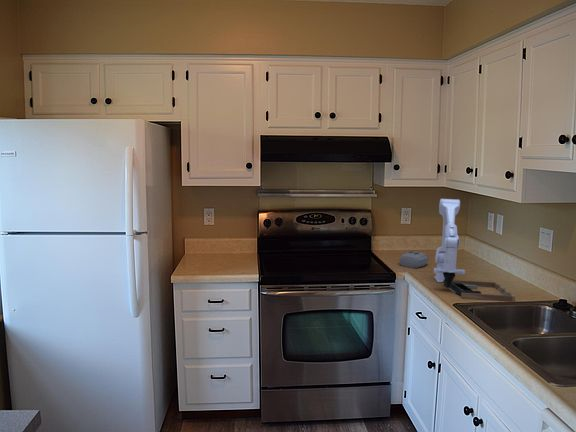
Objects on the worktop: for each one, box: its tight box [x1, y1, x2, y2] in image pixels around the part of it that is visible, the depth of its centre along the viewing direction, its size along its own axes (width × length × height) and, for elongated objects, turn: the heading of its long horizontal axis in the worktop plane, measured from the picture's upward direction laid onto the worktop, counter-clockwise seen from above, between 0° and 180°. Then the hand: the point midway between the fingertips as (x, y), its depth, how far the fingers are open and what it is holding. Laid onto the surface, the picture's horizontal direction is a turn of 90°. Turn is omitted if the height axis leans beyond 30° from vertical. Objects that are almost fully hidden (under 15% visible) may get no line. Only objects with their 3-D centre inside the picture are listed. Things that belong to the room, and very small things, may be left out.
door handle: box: [442, 280, 483, 297], centre depth 221 cm, size 3×20×16 cm
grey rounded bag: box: [398, 251, 430, 269], centre depth 271 cm, size 15×8×20 cm
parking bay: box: [452, 279, 516, 302], centre depth 219 cm, size 23×24×2 cm
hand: (447, 287), depth 220 cm, fingers closed
